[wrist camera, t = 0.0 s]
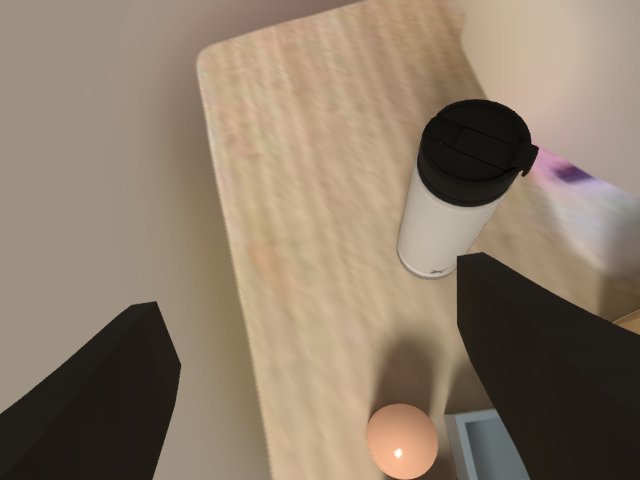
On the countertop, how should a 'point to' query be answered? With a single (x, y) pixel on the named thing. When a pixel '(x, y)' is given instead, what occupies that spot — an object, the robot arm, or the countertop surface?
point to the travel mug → (460, 182)
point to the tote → (483, 447)
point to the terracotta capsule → (402, 441)
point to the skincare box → (630, 322)
